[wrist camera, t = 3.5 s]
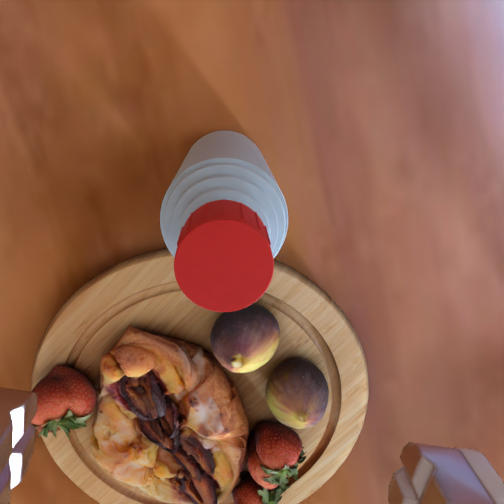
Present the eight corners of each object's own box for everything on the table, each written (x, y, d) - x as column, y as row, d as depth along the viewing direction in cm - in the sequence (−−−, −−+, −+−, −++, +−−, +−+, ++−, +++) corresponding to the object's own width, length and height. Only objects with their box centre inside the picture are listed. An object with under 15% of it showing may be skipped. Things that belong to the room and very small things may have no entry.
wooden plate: (-9, 451, 47) (-55, 523, 39) (119, 176, 38) (91, 199, 30) (264, 548, 54) (271, 626, 46) (426, 332, 45) (468, 384, 37)
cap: (257, 287, 22) (263, 320, 19) (174, 273, 22) (166, 304, 19) (276, 207, 21) (285, 229, 18) (187, 191, 21) (181, 210, 18)
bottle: (256, 218, 40) (286, 347, 20) (178, 203, 39) (130, 323, 20) (273, 139, 38) (324, 198, 18) (191, 122, 37) (151, 165, 17)
